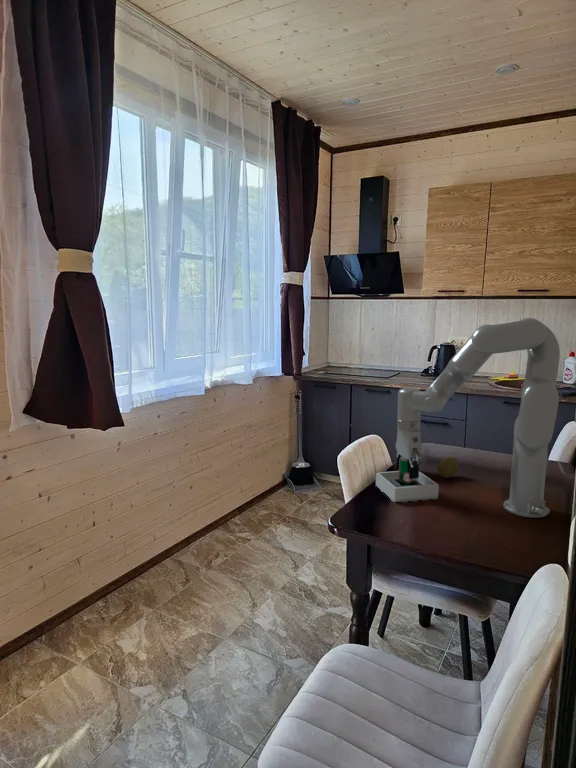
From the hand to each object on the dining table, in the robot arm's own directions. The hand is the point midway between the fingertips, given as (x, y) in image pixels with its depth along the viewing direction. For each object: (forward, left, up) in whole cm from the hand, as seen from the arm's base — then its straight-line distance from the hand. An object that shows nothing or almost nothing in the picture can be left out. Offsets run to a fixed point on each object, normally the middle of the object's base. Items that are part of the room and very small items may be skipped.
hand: (407, 473), depth 167 cm
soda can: (0, 0, -6) cm, 6 cm away
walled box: (0, 0, -7) cm, 7 cm away
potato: (+10, -22, -7) cm, 25 cm away
